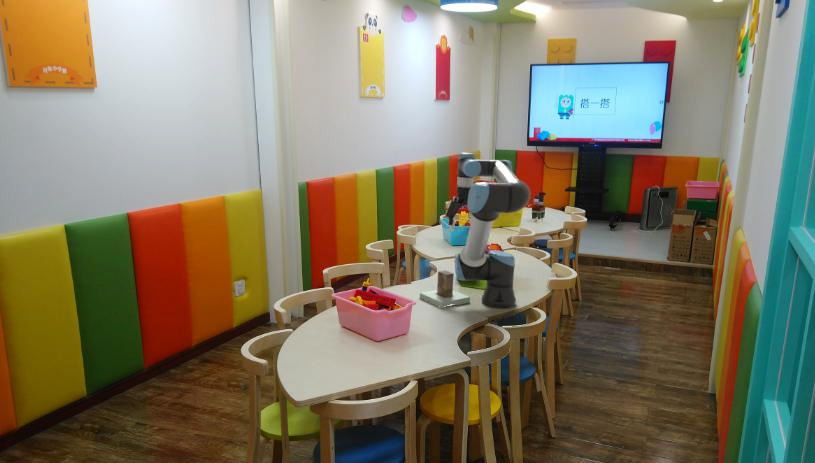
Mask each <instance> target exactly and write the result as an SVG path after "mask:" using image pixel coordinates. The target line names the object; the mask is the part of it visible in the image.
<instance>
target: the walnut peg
mask: <svg viewBox="0 0 815 463" xmlns="http://www.w3.org/2000/svg"><path fill="white" fill-rule="evenodd" d="M436 290H437V295H439V296H441V297H444V298H449V297H452V294H453V290H454V273H453V272H452V271H448V270H438V271H437V289H436Z"/></svg>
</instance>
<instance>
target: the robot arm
mask: <svg viewBox="0 0 815 463" xmlns="http://www.w3.org/2000/svg"><path fill="white" fill-rule="evenodd" d="M457 161H458V163H457V164H458V165H457V182H456V185H457V186H456V194H457V196H452V197H451V201H450V204H449V206H448V209H447V211H446V214H445V217H447V218H448V225H449V228H448V231H449V232H451V233H455V230H456V229H455V224H456V218H455V216H456V215H457V213H458V212H459V211H460V209H461V208H462V207H465V206H466V207H467V209H468V211H469V212H470V214H471V215H470V226H469V229H468V235H467V237H466V242H465V246H464V247H463V248H462V249H461V250H460V252H459V253H455V255H454V271H455V276H456V280H457V279H458V280H457V281H464V282H466V281H468V282H477V281H479V282H481V281H484V282H485V281H486V286H485V288H484V291H483V294H481V304H483V305H484V306H487V307H491V308H494V309H495V308H497V309H508V308H509V309H510V308H513V307H515V306H516V304H517V299H516V296H515V295H516V294H515V291H514V279H515V276H514V275H515V266H516V265H515V260H516V258H515V257H514V255H513V254H511V253H510V252H506V251H503V250H498V249H494V250H493V249H492V250H489V251H488V253H487V254H486V249H487V245H488V243H489V242H488V241H489V238H490V234H491V232H492V231H491V230H492V228H493V224H494V222H495V221H496V220H497V219H499V217H500V215H501V214H513V213H517V212H519V211H521V210H523V209H524V208H525V207H526V206H527V204H529V201H530V200H531V190H530V187H529V186H528V185H527V183H526V182H525V181H523V180H520V179H519V178H518V177H517V176H516V175H515V173H514V172H513V163H512V162H511V160H506V159H476V154H475V153H473V152H460V153H459V154H458V159H457ZM476 177H488V178H489V177H492V178H494V179H495V180H496V182H487V181H482V182H475V183H474V178H476Z"/></svg>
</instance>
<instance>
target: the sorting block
mask: <svg viewBox="0 0 815 463" xmlns="http://www.w3.org/2000/svg"><path fill="white" fill-rule="evenodd" d="M421 298H422V299H421ZM419 299H421V300H423V299H424V300H423V301H425V300H426V301H425V302H427V301H429V302H431V303H433V304H432V305H434V304H435V305H434V306H436V305H437V307H438V306H440V307H444V306H447V305H450V304H457V305H456V306H458V305H459V306H460V305H463V304H468V303H471V301H470V299H471V297H470V296H468V295H466V294H463V293H461V292H459V291H457V290H454V289H453V294H452V297H449V298H444V297H441V296H439V295H437V289H434V290H433V289H432V290H428V291H423V292H419ZM429 302H428V303H429ZM431 303H430V304H431ZM440 307H439V308H440Z"/></svg>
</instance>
